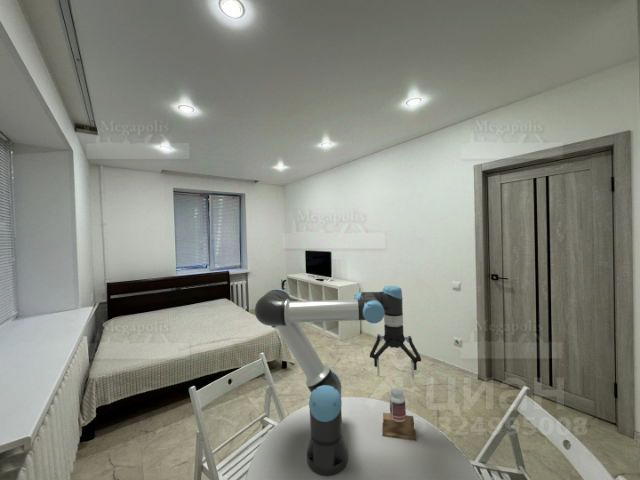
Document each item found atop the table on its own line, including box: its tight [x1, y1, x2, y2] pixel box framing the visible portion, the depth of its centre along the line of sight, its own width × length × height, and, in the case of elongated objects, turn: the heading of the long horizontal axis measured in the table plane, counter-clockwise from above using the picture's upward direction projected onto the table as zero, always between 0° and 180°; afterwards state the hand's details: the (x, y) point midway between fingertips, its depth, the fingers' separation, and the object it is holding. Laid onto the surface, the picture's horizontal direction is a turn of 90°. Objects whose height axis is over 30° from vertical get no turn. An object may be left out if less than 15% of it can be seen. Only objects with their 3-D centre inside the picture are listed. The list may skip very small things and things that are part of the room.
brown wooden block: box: [381, 412, 417, 442], centre depth 108 cm, size 13×7×6 cm, turn 76°
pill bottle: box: [389, 387, 407, 422], centre depth 108 cm, size 6×6×11 cm
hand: (395, 375), depth 109 cm, fingers open, 13 cm apart
